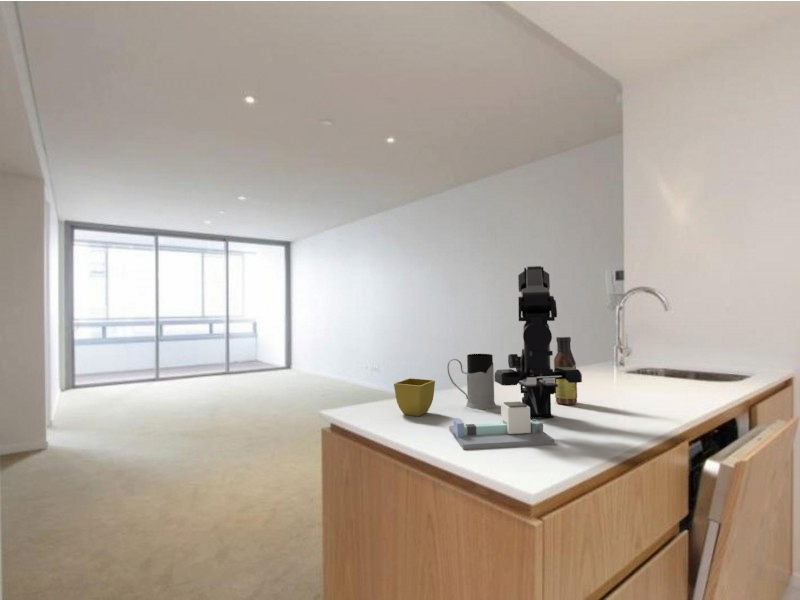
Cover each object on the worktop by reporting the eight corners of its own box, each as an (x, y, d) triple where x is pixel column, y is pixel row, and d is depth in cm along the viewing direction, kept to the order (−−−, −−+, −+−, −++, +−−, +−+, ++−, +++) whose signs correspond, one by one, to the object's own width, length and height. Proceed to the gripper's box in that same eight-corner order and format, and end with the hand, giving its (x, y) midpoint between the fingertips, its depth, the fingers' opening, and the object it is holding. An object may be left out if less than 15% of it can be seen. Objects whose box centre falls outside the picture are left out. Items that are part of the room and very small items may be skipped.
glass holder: (495, 409, 123) (493, 357, 123) (445, 407, 127) (444, 356, 127) (496, 402, 131) (495, 353, 131) (450, 400, 135) (449, 353, 135)
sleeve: (522, 426, 101) (521, 400, 101) (530, 432, 96) (529, 405, 96) (501, 427, 101) (500, 401, 101) (508, 433, 96) (508, 406, 96)
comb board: (529, 425, 106) (528, 409, 106) (554, 444, 92) (554, 425, 92) (449, 430, 104) (448, 413, 104) (463, 449, 90) (462, 430, 90)
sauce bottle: (580, 405, 125) (579, 337, 126) (559, 405, 125) (557, 337, 126) (572, 400, 132) (570, 335, 132) (551, 400, 132) (550, 336, 132)
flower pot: (421, 419, 114) (420, 385, 114) (393, 415, 119) (393, 383, 119) (436, 411, 122) (435, 380, 122) (410, 408, 126) (409, 378, 126)
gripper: (559, 341, 108) (560, 403, 108) (486, 343, 106) (488, 407, 106) (582, 345, 97) (584, 415, 97) (501, 348, 95) (503, 419, 95)
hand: (538, 413), depth 99 cm, fingers closed
